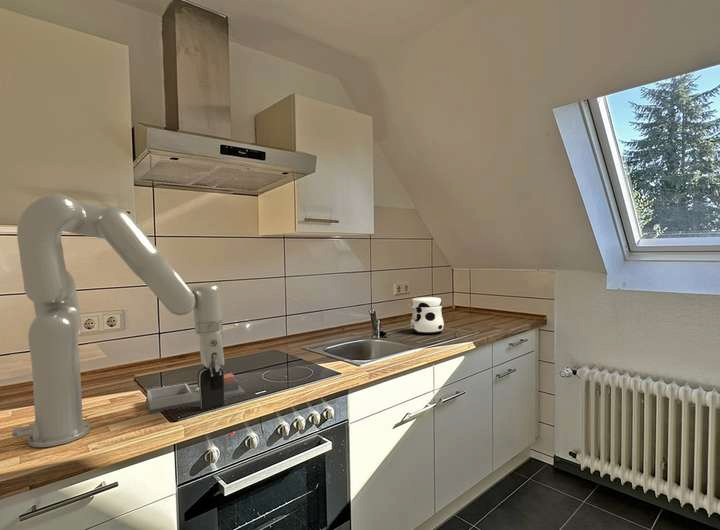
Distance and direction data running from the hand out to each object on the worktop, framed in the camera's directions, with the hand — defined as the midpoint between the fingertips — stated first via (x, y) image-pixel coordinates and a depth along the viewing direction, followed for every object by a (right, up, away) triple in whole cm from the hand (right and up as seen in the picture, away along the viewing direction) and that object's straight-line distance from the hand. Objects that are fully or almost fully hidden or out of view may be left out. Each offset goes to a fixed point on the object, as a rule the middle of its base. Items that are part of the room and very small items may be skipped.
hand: (212, 384), depth 121 cm
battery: (0, -6, 0) cm, 6 cm away
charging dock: (-8, -6, +7) cm, 12 cm away
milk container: (+79, -1, +98) cm, 126 cm away
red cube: (0, -5, +12) cm, 13 cm away
